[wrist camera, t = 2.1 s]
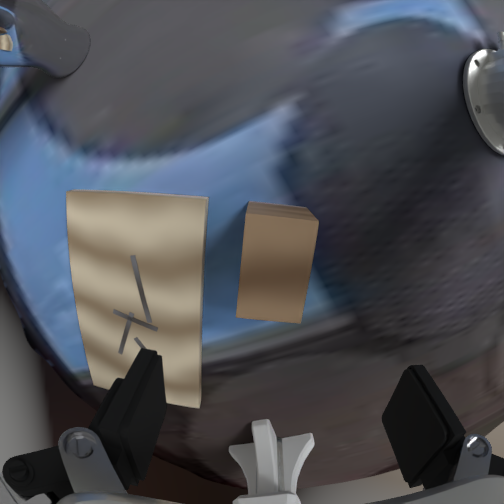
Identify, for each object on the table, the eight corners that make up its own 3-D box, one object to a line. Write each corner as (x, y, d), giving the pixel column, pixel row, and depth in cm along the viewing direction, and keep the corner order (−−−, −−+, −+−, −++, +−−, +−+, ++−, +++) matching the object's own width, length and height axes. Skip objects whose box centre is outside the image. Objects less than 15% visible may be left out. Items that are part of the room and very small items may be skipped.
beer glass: (39, 86, 22) (-65, 71, 8) (51, 31, 20) (-39, -4, 6) (87, 77, 22) (-23, 43, 8) (101, 18, 20) (12, -40, 6)
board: (74, 189, 26) (65, 191, 24) (208, 197, 26) (205, 199, 24) (98, 378, 33) (93, 385, 31) (201, 399, 33) (199, 408, 32)
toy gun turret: (245, 471, 38) (240, 565, 21) (216, 426, 35) (198, 544, 18) (319, 459, 37) (332, 557, 20) (305, 411, 33) (322, 538, 16)
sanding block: (249, 200, 26) (245, 213, 20) (306, 207, 26) (319, 221, 20) (240, 285, 28) (235, 317, 23) (293, 290, 28) (300, 323, 23)
